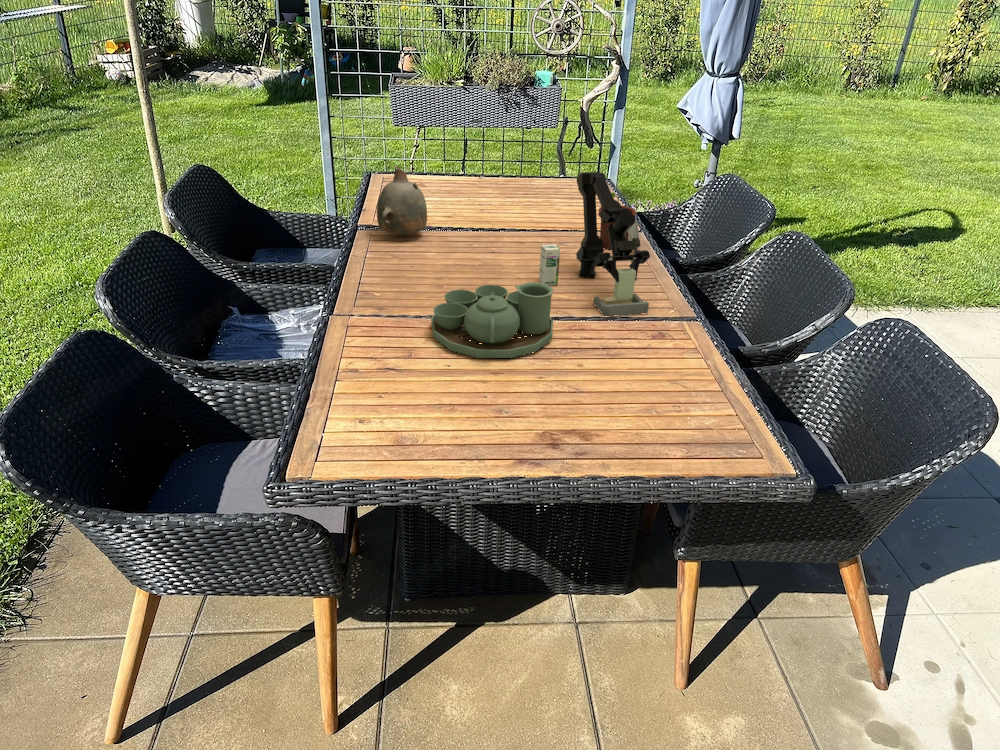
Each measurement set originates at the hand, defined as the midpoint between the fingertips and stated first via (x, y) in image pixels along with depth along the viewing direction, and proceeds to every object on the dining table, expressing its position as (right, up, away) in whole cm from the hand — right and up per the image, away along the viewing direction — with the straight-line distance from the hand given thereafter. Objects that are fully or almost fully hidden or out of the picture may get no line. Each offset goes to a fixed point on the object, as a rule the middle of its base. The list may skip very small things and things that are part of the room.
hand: (626, 281), depth 239 cm
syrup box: (-25, +3, +26) cm, 36 cm away
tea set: (-46, -18, -11) cm, 51 cm away
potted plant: (+6, +22, +62) cm, 66 cm away
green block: (-1, -5, +4) cm, 7 cm away
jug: (-86, +28, +66) cm, 112 cm away
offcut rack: (-1, -9, +8) cm, 12 cm away
